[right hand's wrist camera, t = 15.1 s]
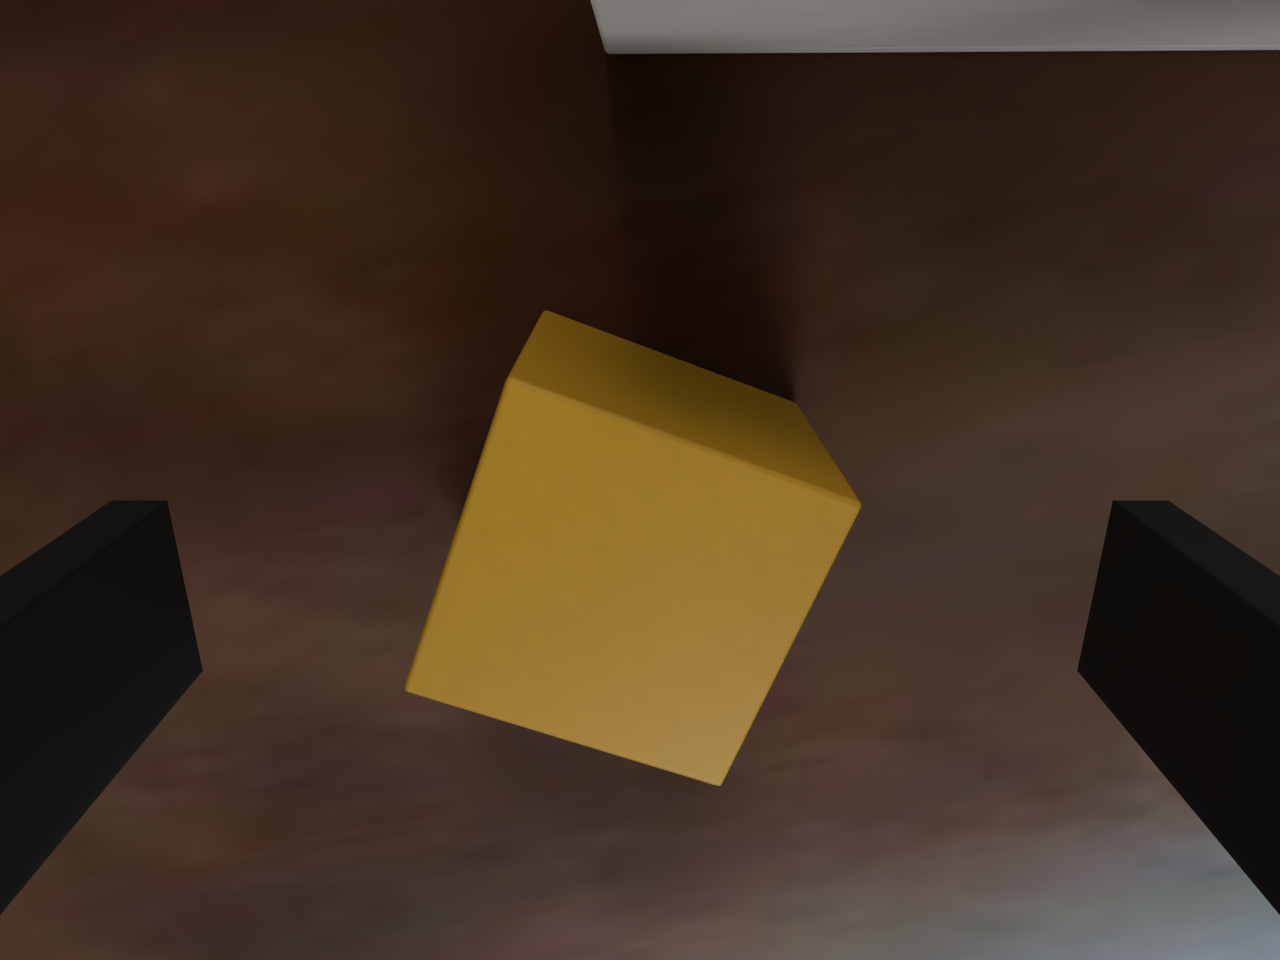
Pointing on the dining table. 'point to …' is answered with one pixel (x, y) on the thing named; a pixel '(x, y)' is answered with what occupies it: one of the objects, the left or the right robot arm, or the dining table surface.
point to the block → (632, 553)
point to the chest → (934, 25)
